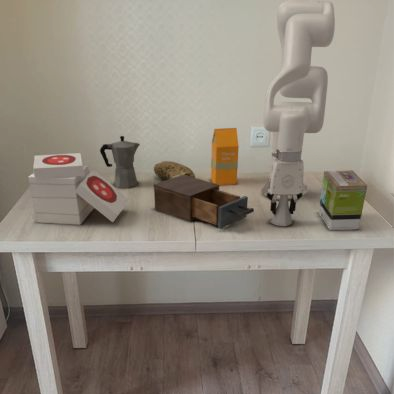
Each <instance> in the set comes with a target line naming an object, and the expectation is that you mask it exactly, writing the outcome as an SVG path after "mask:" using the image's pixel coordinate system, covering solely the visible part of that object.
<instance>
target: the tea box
mask: <svg viewBox="0 0 394 394" xmlns="http://www.w3.org/2000/svg"><path fill="white" fill-rule="evenodd" d="M321 184H322V185H321V192H320V198H319V204H318V205H319V206H318V212H317V213H318V214H319V216H320V217H321V220H323V222H324V224H325V225H326V226H327V228H328V230H329V231H351V230H359V229H360V225H361V218H362V214H363V209H364V204H365V200H366V199H365V198H366V194H367V190H368V184H366V182H365V181H363V179H361V177H360V176H359V175H358V174H357V173H356V172H355V171H354V170H327V171H323V178H322V183H321Z"/></svg>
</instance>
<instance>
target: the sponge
mask: <svg viewBox="0 0 394 394" xmlns="http://www.w3.org/2000/svg"><path fill="white" fill-rule="evenodd" d="M153 171H154V172H153V173H154V174H155V175H156V176H158V177H159V178H161V179H164V180H169V179H172V178H175V177H178V176H181V175H187V176H190V177H194V178H196V174H195V173H194V171H193V170H192V169H191V168H190V167H188V166H186V165H184V164H181V163H180V162H179V163H178V162H175V161H168V160H167V161H166V160H164V161H160V162H158V163H155V165H153Z"/></svg>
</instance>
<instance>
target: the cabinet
mask: <svg viewBox="0 0 394 394" xmlns="http://www.w3.org/2000/svg"><path fill="white" fill-rule="evenodd" d="M214 189H217V190H220V185H218V184H214V183H213V182H211V181H208V180H203V179H201V178H197V177H195V178H194V177H190V176H187V175H181V176H178V177H175V178H172V179H169V180H167V179H165V180H163V181H160V182H157V183H153V195H154V210H155V211H158V212H161V213H164V214H166V215H169V216H173V217H176V218H178V219H181V220H183V221H186V222H189V223H192V222H193V221H194V222H195V221H196V220H198V219H197V218H195V217H192V198H193V197H195V196H198V195H201V194H203V193H206V192H209V191H211V190H214Z"/></svg>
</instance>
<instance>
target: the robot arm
mask: <svg viewBox="0 0 394 394" xmlns="http://www.w3.org/2000/svg"><path fill="white" fill-rule="evenodd" d="M335 22H336V20H335V7H334V4H333V2H332V1H330V0H286V1H284V2H282V3H281V4H280V5H279V6H278V9H277V13H276V26H277V33H278V38H279V42H280V47H281V61H280V72H279V73H277V75H276V76H275V77H274V78H273V79H272V81H271V82H270V84H269V86H268V88H267V89H266V94H265V98H264V108H263V127H264V129H265V130H266V131H268V132H271V133H272V142H271V143H272V144H271V156H270V165H269V166H270V167H269V177H268V182H267V183H266V184H265V185H264V186H263V187H262V188H261V192H262V194H263V195H264V196H265V197H267V198H268V200H270V209H269V210H270V212H271V213H272V216H273V215H275V214H276V209H277V206H278V203H277V200H279V201H280V195H289V196H288V201H289V200H290V202H289V210H290V214H291V215H294V212H295V211H296V208H297V203H298V201H299V200H300V199H301V198H302V197H303V196H304V195H306V194H307V193H308V192H309V189H308V185H307V184H305V183H304V174H305V173H304V170H305V169H304V165H305V164H304V160H302V154H303V145H304V139H305V134H318V133H319V132H321V131H322V129H323V126H324V121H325V114H326V113H325V112H326V104H327V96H328V95H327V94H328V83H329V76H328V72H327V69H326V68H324V67H323V66H314V65H311V62H312V51H313V48H327V47H329V46H330V45H331V43H332V42H333V39H334V37H335V36H334V35H335V25H336V23H335ZM278 92H279V93H280V95H281V96H282V97H284V98H289V99H309V100H311V102H310V101H309V102H307V101H305V102H304V101H283V102H279V103H277V104H274V102H275V97H276V95H277V94H278Z"/></svg>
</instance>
